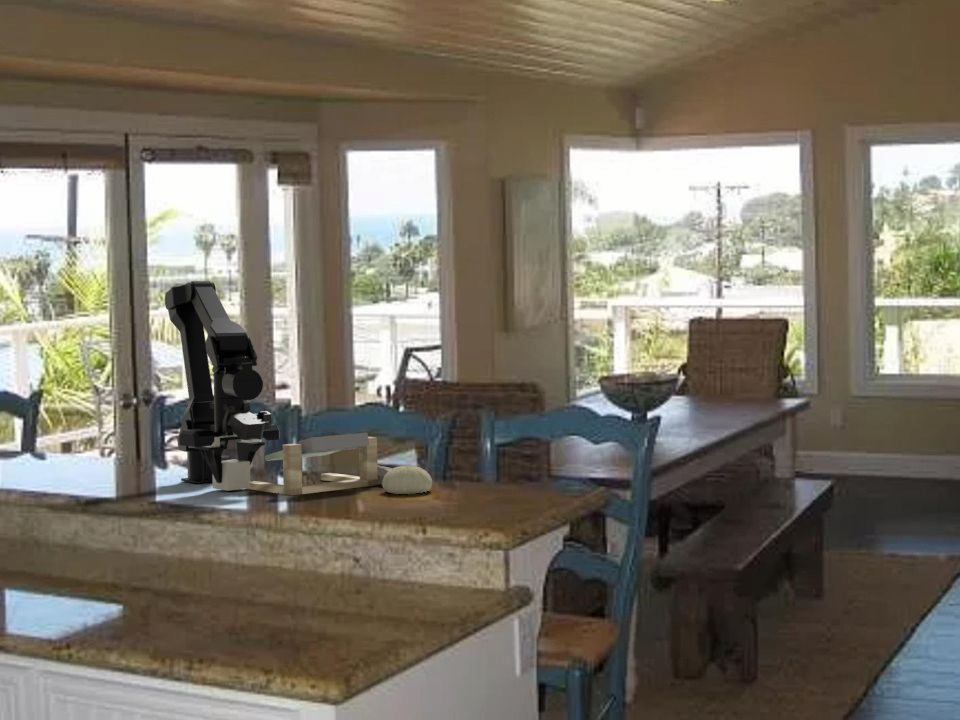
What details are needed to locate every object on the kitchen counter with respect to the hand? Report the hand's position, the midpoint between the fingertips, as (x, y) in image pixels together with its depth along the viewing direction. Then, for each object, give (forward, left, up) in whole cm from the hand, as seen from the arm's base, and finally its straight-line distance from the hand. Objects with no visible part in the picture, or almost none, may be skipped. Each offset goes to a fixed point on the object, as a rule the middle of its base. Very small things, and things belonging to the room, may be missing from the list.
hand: (231, 481), depth 288 cm
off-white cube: (0, 0, -1) cm, 1 cm away
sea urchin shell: (+27, +20, -2) cm, 34 cm away
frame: (+8, +13, -2) cm, 15 cm away
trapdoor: (+10, +13, +5) cm, 17 cm away
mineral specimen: (+16, +25, -2) cm, 30 cm away
